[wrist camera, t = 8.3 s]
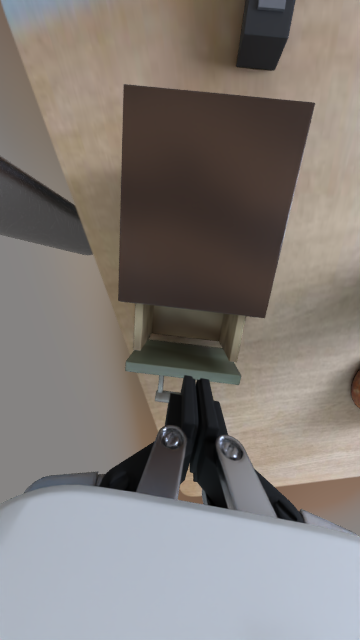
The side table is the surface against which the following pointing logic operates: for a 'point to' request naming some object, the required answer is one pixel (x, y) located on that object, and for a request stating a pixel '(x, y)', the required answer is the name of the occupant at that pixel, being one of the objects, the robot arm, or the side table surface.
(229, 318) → the drawer
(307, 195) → the side table surface
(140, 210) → the cabinet
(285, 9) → the remote
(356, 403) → the bell
